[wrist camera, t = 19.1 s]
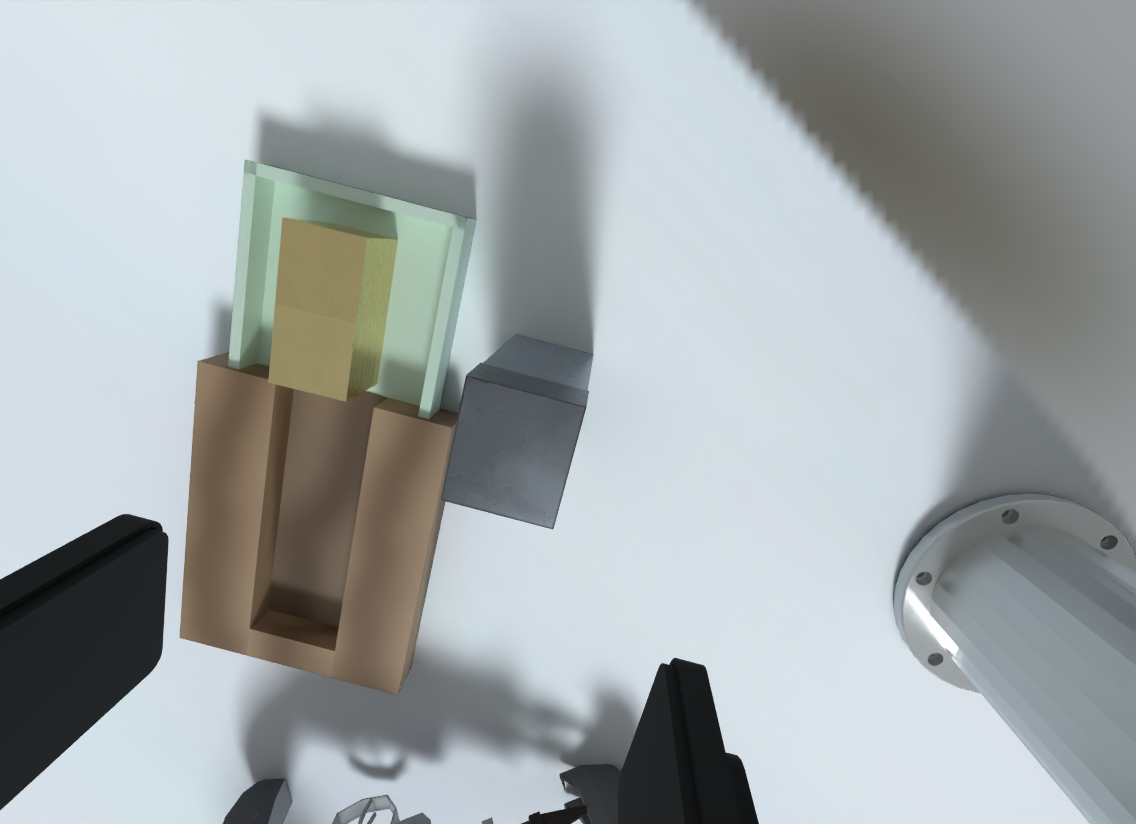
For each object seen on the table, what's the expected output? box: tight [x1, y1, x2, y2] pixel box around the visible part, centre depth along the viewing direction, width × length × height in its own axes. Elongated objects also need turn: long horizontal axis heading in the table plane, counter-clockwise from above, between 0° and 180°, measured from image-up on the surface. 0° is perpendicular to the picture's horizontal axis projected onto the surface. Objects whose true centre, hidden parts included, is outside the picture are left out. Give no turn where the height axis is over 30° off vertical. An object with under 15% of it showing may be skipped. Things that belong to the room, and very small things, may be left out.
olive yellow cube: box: [268, 303, 387, 402], centre depth 30 cm, size 4×4×4 cm
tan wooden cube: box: [275, 217, 398, 323], centre depth 29 cm, size 4×4×4 cm
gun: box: [223, 764, 621, 824], centre depth 38 cm, size 5×27×15 cm, turn 97°
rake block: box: [441, 335, 593, 529], centre depth 27 cm, size 4×5×11 cm
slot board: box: [180, 353, 458, 695], centre depth 34 cm, size 14×18×2 cm
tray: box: [228, 160, 476, 419], centre depth 30 cm, size 11×11×2 cm
